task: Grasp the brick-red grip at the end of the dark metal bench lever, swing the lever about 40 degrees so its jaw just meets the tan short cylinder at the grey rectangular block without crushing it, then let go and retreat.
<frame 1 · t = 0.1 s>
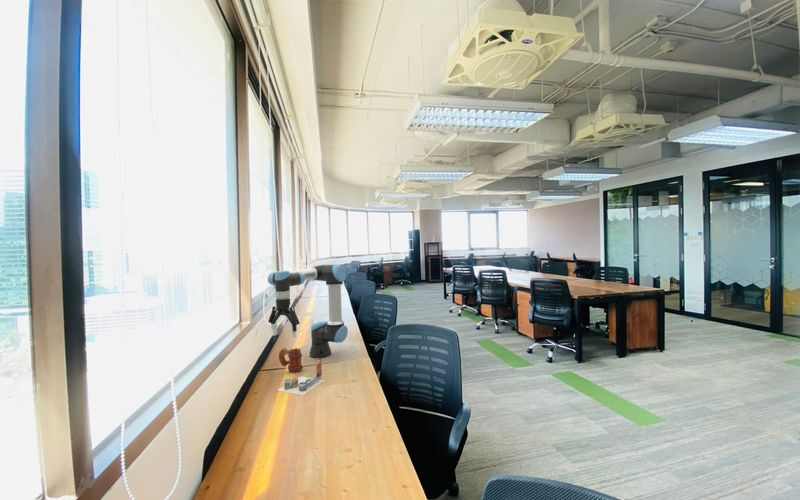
hand: (284, 336, 181), 28 cm above the table, fingers open, 13 cm apart
bench board: (302, 387, 179), on the table
grey rectangular block: (287, 389, 176), resting on bench board
mug: (291, 372, 200), on the table
lever: (310, 373, 179), point 7 cm above the table, hinge at 0.0°
tan short cylinder: (294, 386, 177), point 1 cm above the table, touching bench board
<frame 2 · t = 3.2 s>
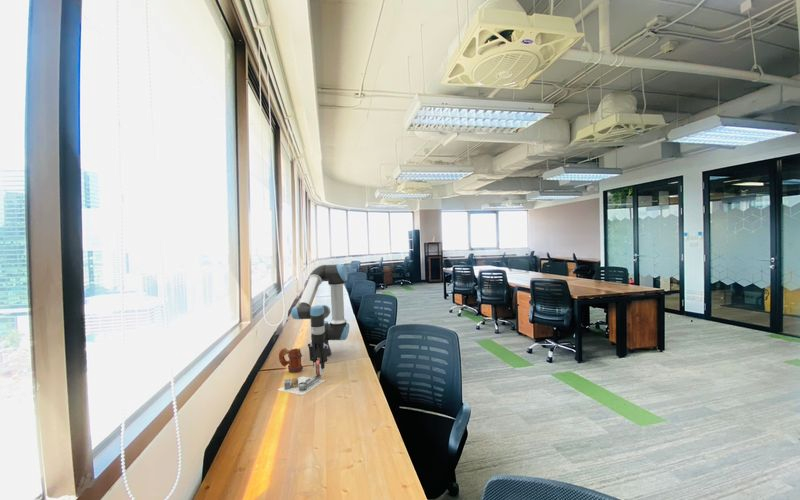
hand: (319, 373, 186), 5 cm above the table, fingers closed on lever, 3 cm apart
lever: (310, 373, 179), point 7 cm above the table, hinge at 0.0°, touching gripper
everything else where it was.
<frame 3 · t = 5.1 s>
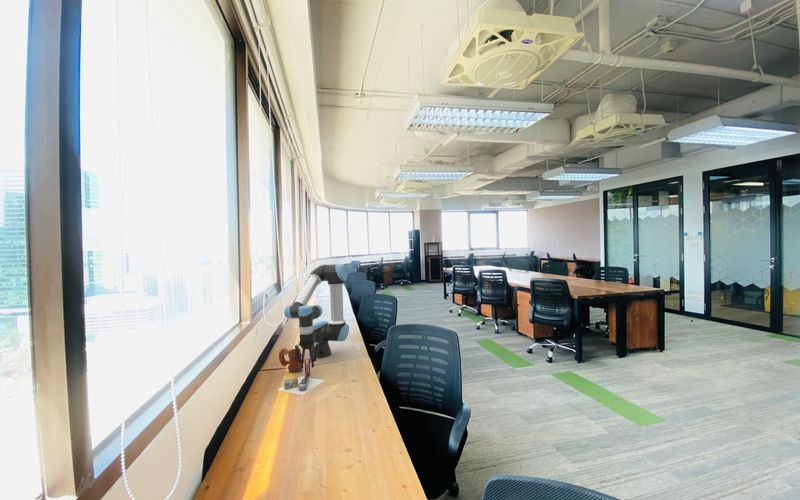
hand: (308, 373, 187), 5 cm above the table, fingers closed on lever, 3 cm apart
lever: (305, 373, 179), point 7 cm above the table, hinge at 28.0°, touching gripper
everything else where it was.
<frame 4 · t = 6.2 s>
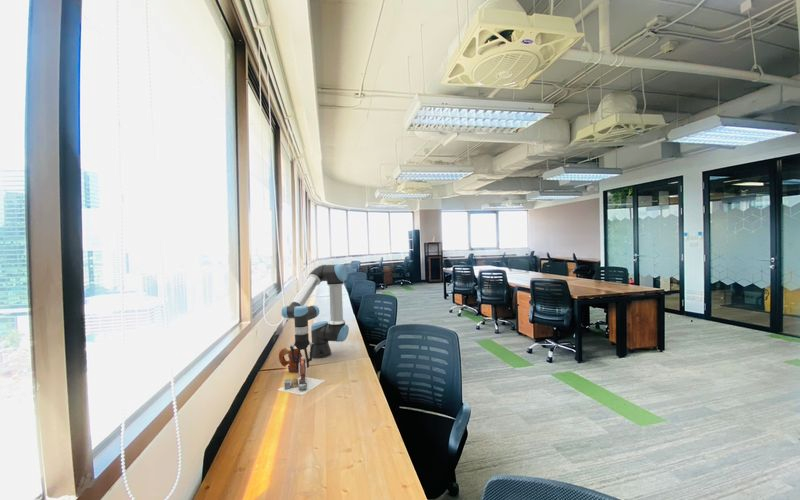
hand: (303, 373, 186), 5 cm above the table, fingers closed on lever, 3 cm apart
lever: (302, 373, 179), point 7 cm above the table, hinge at 39.5°, touching gripper
everything else where it was.
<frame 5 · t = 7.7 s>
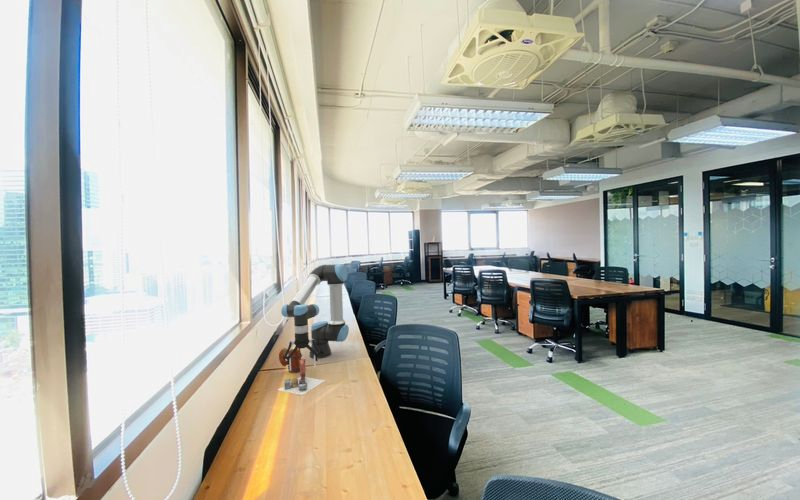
hand: (302, 368, 186), 7 cm above the table, fingers open, 13 cm apart
lever: (302, 373, 179), point 7 cm above the table, hinge at 39.7°
everything else where it was.
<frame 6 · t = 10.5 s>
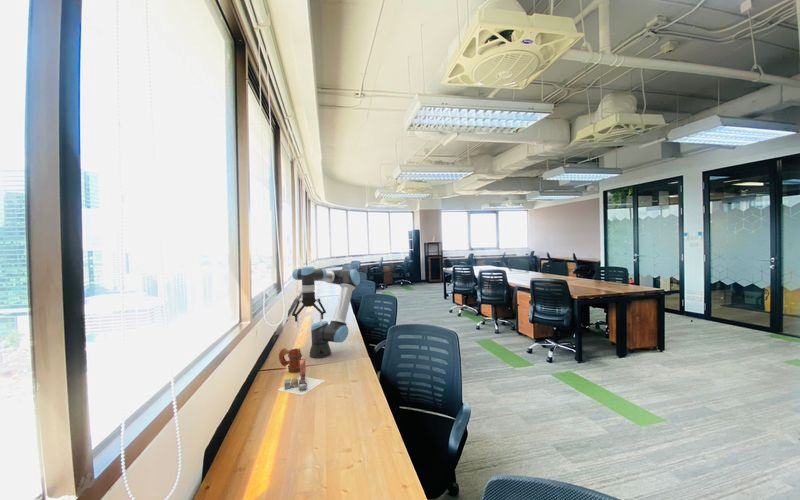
hand: (309, 325, 200), 29 cm above the table, fingers open, 13 cm apart
nothing on the table moved.
at the end: lever at +40° (first picture: +0°); tan short cylinder moved 0.0 cm from its start; the gripper is holding nothing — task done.
